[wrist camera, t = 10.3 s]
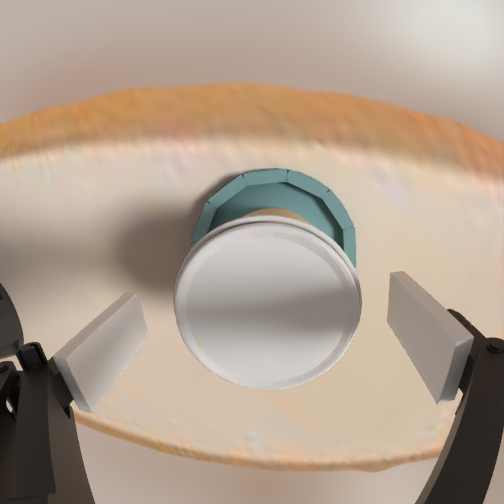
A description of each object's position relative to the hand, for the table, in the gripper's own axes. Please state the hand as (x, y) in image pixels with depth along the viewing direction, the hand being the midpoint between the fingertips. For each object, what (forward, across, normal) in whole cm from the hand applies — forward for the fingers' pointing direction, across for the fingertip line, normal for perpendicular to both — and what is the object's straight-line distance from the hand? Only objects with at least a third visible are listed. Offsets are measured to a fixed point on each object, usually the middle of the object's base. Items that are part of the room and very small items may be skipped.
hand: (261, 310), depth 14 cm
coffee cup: (+11, 0, 0) cm, 11 cm away
